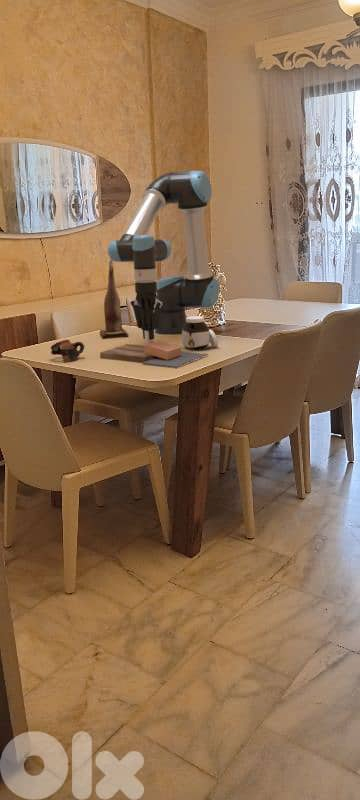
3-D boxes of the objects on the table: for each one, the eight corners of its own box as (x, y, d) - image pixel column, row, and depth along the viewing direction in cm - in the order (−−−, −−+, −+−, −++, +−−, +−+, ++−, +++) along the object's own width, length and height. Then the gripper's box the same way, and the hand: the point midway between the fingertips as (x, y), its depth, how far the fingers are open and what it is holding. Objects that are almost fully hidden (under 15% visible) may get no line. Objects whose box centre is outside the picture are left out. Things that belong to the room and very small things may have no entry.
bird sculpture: (103, 340, 264) (97, 261, 254) (98, 334, 275) (93, 259, 265) (129, 338, 267) (125, 260, 257) (124, 332, 277) (120, 257, 267)
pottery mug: (57, 365, 223) (48, 344, 224) (57, 371, 232) (48, 351, 233) (89, 353, 226) (79, 332, 227) (87, 359, 235) (78, 339, 236)
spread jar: (179, 348, 240) (178, 317, 236) (200, 343, 247) (199, 313, 244) (202, 352, 231) (201, 320, 228) (223, 347, 239) (222, 316, 236)
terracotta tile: (157, 348, 229) (158, 340, 228) (180, 355, 224) (181, 347, 223) (144, 352, 223) (144, 344, 222) (167, 359, 218) (168, 351, 217)
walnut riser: (127, 349, 242) (127, 344, 242) (171, 353, 232) (170, 348, 231) (100, 357, 230) (100, 352, 229) (145, 363, 219) (144, 357, 218)
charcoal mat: (175, 352, 233) (175, 351, 233) (208, 355, 225) (207, 354, 225) (142, 364, 217) (142, 362, 217) (176, 368, 209) (176, 366, 209)
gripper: (124, 282, 220) (128, 348, 227) (154, 283, 213) (158, 351, 220) (137, 279, 226) (141, 344, 233) (167, 280, 219) (170, 347, 226)
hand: (149, 348), depth 226 cm, fingers closed
